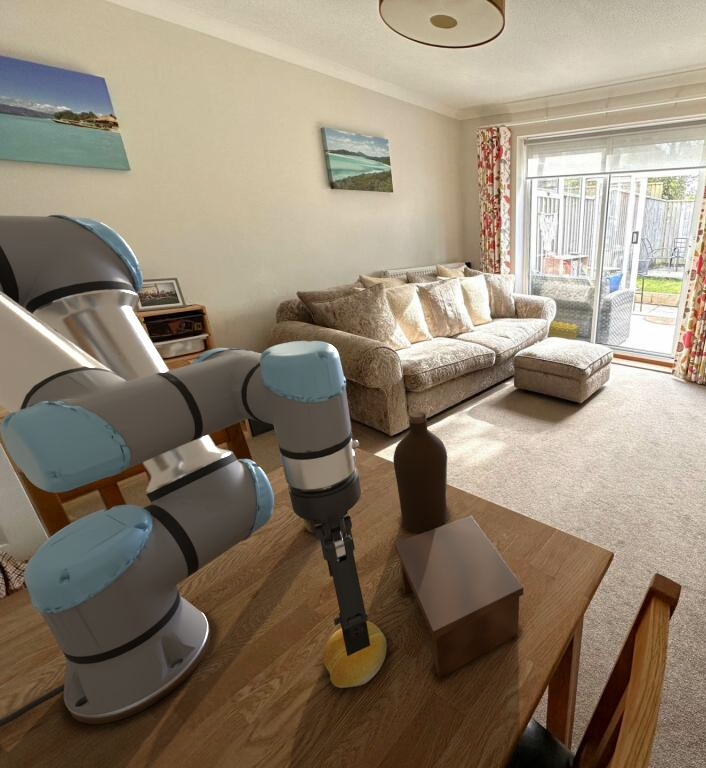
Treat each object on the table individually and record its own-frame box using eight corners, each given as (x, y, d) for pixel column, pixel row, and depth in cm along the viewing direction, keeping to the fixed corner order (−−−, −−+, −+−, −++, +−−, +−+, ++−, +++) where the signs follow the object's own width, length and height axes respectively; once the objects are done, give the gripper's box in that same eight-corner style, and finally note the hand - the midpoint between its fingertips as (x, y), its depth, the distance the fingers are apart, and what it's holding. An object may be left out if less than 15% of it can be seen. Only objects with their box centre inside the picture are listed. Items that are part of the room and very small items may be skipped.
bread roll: (340, 704, 53) (335, 685, 52) (318, 653, 59) (314, 634, 58) (398, 663, 58) (395, 645, 57) (373, 620, 65) (370, 602, 63)
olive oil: (410, 542, 80) (400, 431, 71) (392, 512, 88) (381, 409, 79) (458, 522, 86) (454, 417, 77) (437, 496, 94) (431, 398, 85)
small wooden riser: (436, 682, 56) (433, 631, 52) (399, 587, 70) (394, 543, 67) (521, 634, 63) (523, 587, 59) (471, 557, 77) (471, 515, 73)
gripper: (383, 527, 39) (402, 673, 47) (339, 424, 59) (357, 538, 67) (296, 557, 35) (332, 710, 43) (281, 436, 55) (308, 556, 63)
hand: (348, 606), depth 55 cm, fingers open, 13 cm apart
